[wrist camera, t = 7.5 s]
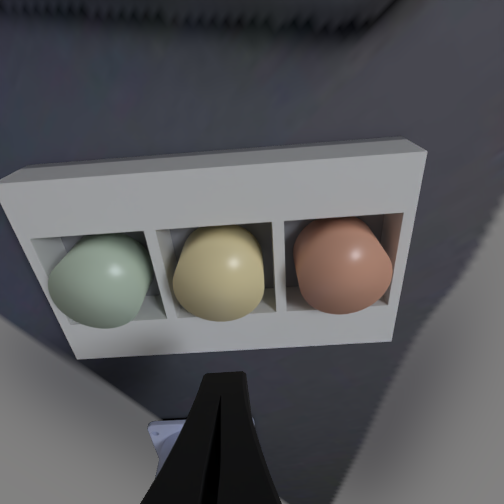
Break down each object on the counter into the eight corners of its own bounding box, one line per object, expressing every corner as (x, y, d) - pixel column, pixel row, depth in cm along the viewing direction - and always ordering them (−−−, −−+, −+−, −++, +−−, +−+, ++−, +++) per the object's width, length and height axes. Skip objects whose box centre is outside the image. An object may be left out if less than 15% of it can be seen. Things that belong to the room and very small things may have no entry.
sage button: (161, 294, 18) (150, 326, 16) (87, 299, 18) (67, 331, 16) (143, 227, 16) (127, 253, 14) (60, 233, 16) (32, 260, 14)
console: (375, 309, 20) (391, 341, 18) (95, 326, 21) (77, 359, 18) (401, 135, 15) (427, 151, 13) (28, 165, 16) (-9, 184, 13)
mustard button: (264, 287, 18) (266, 319, 16) (189, 292, 18) (181, 324, 16) (260, 219, 16) (261, 244, 14) (175, 224, 16) (163, 251, 14)
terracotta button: (370, 281, 18) (386, 311, 16) (293, 286, 18) (299, 317, 16) (379, 210, 16) (398, 235, 14) (292, 216, 16) (298, 242, 14)
